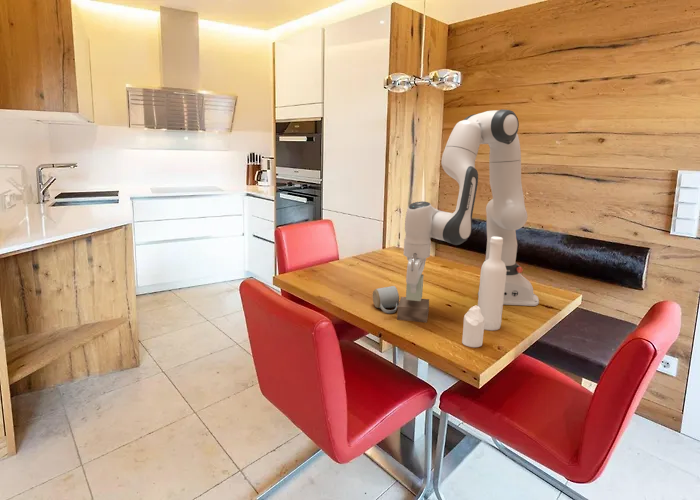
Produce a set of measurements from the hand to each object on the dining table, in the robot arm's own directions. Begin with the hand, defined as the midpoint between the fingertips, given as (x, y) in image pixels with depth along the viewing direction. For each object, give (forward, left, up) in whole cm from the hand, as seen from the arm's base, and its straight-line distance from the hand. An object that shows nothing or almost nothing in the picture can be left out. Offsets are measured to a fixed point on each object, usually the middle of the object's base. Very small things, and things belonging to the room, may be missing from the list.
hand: (414, 289), depth 147 cm
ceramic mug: (+10, -4, -10) cm, 15 cm away
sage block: (0, 0, -3) cm, 3 cm away
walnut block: (0, 0, -10) cm, 10 cm away
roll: (-20, +16, -10) cm, 27 cm away
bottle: (-25, +1, -10) cm, 27 cm away
